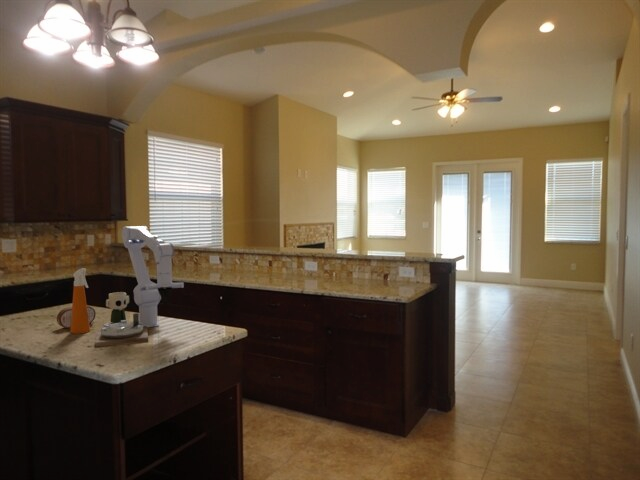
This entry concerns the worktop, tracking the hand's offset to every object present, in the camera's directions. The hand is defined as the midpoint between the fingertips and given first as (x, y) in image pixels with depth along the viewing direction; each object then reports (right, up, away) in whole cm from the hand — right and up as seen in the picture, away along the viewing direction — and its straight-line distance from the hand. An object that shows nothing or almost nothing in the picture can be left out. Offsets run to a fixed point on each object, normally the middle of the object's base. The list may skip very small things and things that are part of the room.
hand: (165, 306), depth 184 cm
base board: (-14, -11, -8) cm, 19 cm away
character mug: (-26, -10, +14) cm, 31 cm away
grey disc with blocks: (-14, -9, -8) cm, 19 cm away
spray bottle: (-33, -11, -1) cm, 35 cm away
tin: (-41, -10, +9) cm, 43 cm away
